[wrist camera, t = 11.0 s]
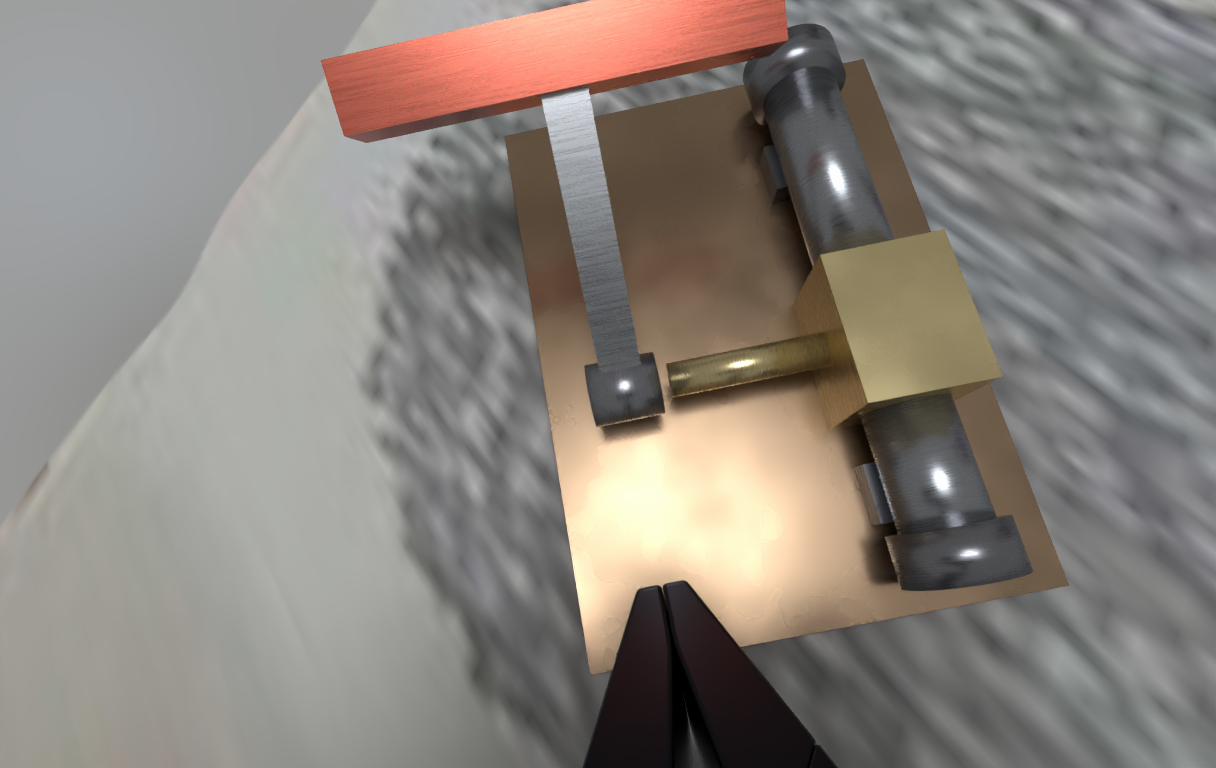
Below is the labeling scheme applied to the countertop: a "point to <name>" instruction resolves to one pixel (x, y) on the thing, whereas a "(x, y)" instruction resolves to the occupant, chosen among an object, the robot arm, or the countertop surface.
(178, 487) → the countertop surface
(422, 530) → the countertop surface
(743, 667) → the robot arm
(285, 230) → the countertop surface
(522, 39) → the valve lever
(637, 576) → the valve on board
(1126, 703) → the countertop surface
